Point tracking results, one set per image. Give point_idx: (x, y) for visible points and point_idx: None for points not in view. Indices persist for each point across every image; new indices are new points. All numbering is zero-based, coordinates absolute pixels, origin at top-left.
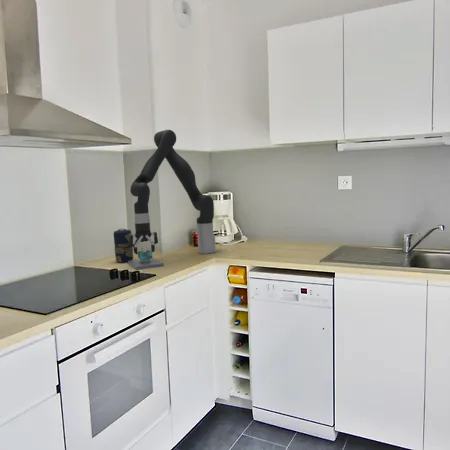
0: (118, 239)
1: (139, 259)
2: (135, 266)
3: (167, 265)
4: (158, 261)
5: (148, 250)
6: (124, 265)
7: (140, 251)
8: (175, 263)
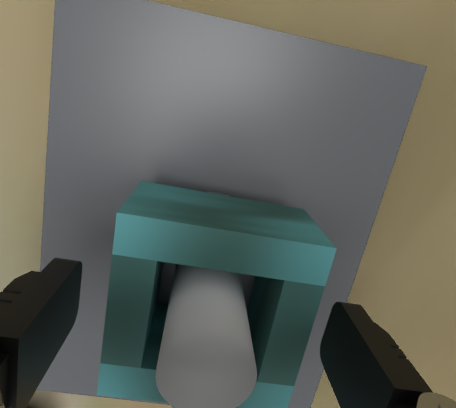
0: None
1: (229, 27)
2: None
3: (333, 398)
4: (318, 327)
5: (304, 290)
6: (2, 60)
7: (159, 260)
8: (424, 380)
